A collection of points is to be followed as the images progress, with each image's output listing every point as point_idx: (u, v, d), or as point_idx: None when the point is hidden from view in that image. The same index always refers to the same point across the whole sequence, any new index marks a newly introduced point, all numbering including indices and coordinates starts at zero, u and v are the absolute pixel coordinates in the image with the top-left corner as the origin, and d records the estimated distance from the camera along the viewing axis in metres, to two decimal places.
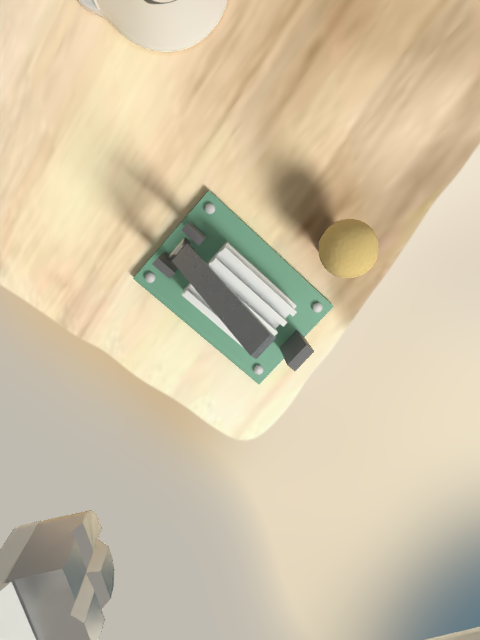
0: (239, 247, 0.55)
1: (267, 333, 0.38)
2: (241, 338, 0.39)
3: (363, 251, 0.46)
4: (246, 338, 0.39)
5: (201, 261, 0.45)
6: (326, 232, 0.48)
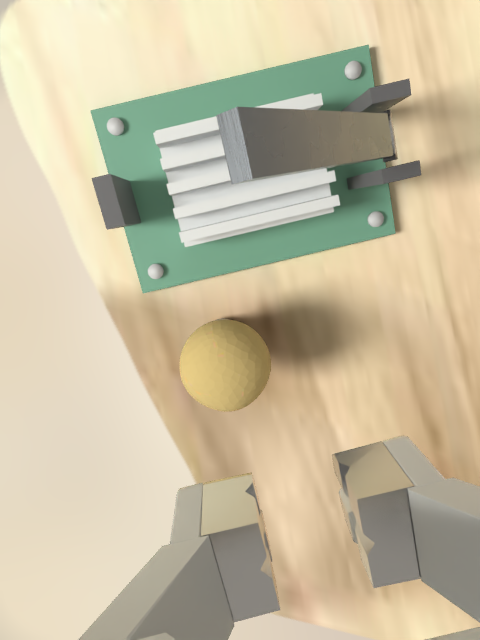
0: (303, 222, 0.36)
1: (256, 173, 0.17)
2: (268, 117, 0.17)
3: (220, 388, 0.29)
4: (265, 127, 0.17)
5: (372, 155, 0.26)
6: (267, 350, 0.31)
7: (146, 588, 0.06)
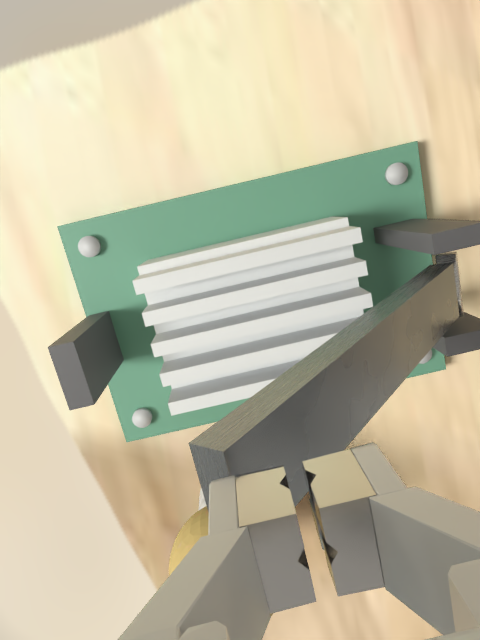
0: None
1: None
2: (281, 420, 0.10)
3: None
4: (275, 442, 0.10)
5: (434, 339, 0.18)
6: None
7: (190, 578, 0.06)
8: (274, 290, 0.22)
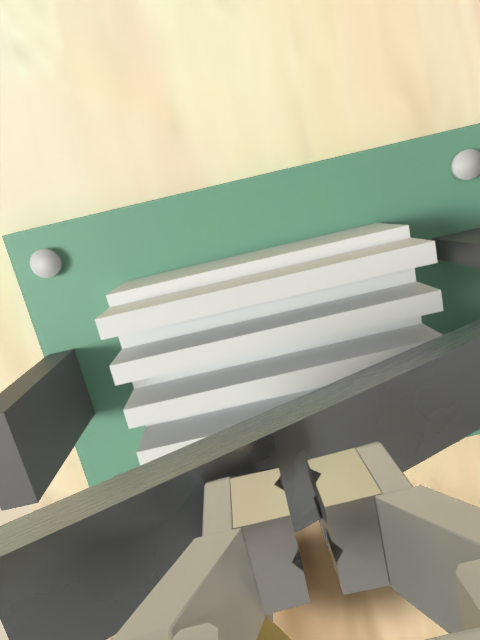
0: None
1: None
2: (99, 530, 0.08)
3: None
4: (86, 556, 0.08)
5: None
6: None
7: (183, 579, 0.06)
8: (305, 333, 0.15)
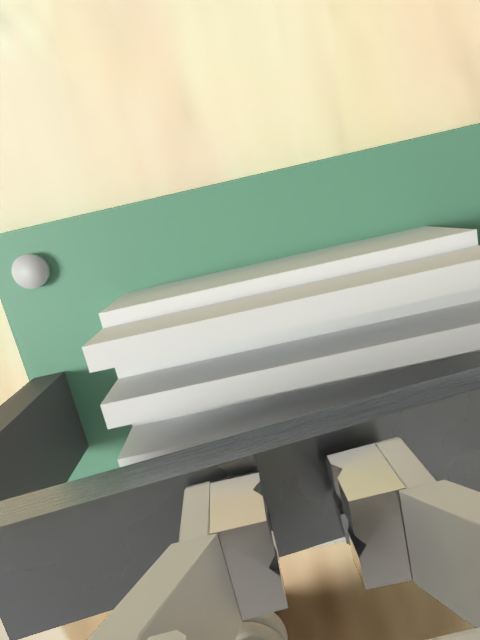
0: None
1: (23, 630, 0.09)
2: (74, 522, 0.09)
3: None
4: (61, 543, 0.09)
5: None
6: None
7: (156, 585, 0.06)
8: (348, 366, 0.11)
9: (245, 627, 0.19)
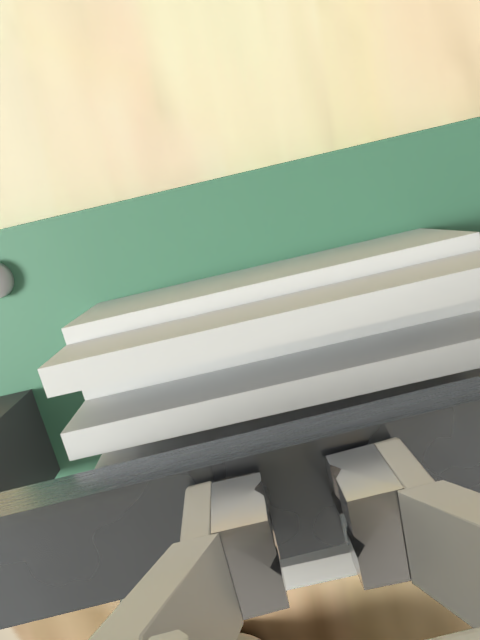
0: None
1: None
2: (43, 523, 0.09)
3: None
4: (31, 542, 0.09)
5: None
6: None
7: (157, 585, 0.06)
8: (340, 387, 0.10)
9: None
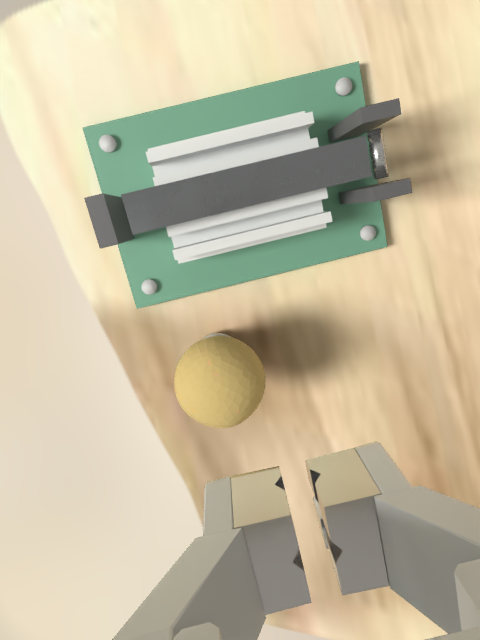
0: (296, 236, 0.36)
1: (136, 231, 0.28)
2: (152, 193, 0.28)
3: (215, 406, 0.29)
4: (148, 200, 0.28)
5: (319, 186, 0.29)
6: (262, 366, 0.31)
7: (184, 579, 0.06)
8: (250, 160, 0.29)
9: None
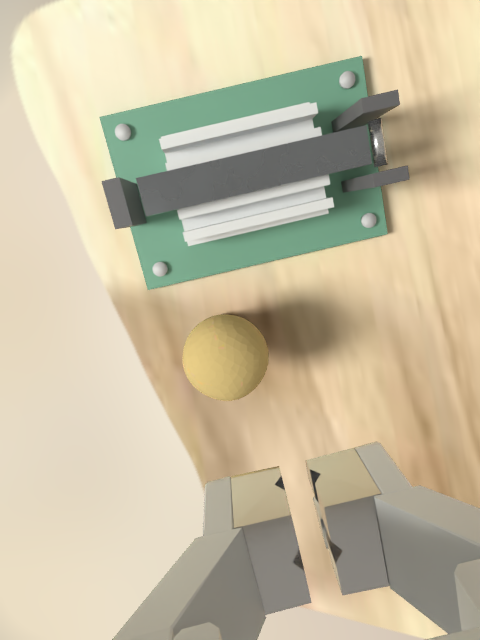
0: (300, 223, 0.38)
1: (149, 213, 0.30)
2: (165, 177, 0.30)
3: (220, 379, 0.31)
4: (161, 183, 0.30)
5: (321, 172, 0.30)
6: (265, 344, 0.33)
7: (184, 579, 0.06)
8: (257, 147, 0.31)
9: None
